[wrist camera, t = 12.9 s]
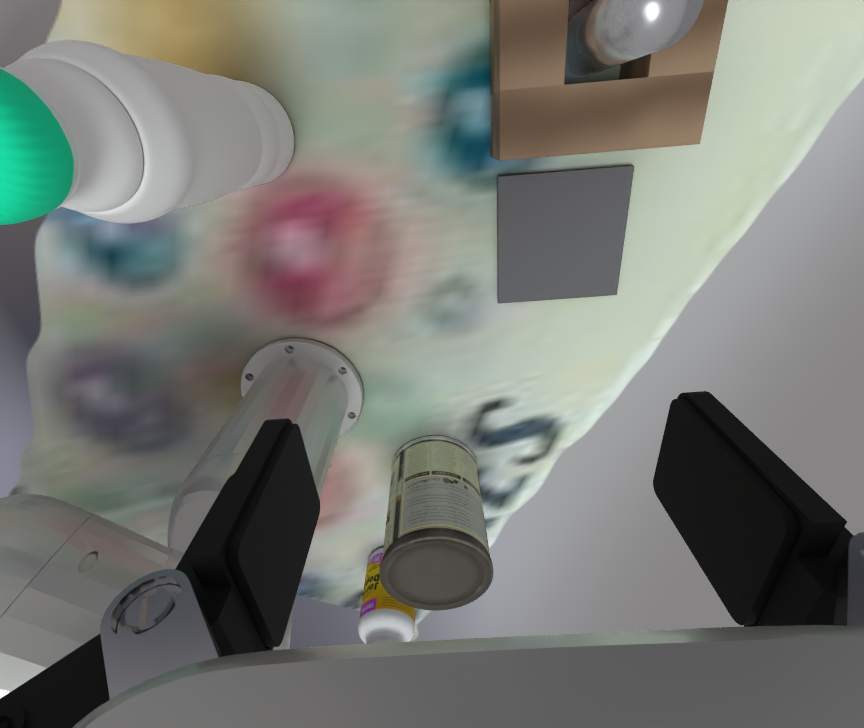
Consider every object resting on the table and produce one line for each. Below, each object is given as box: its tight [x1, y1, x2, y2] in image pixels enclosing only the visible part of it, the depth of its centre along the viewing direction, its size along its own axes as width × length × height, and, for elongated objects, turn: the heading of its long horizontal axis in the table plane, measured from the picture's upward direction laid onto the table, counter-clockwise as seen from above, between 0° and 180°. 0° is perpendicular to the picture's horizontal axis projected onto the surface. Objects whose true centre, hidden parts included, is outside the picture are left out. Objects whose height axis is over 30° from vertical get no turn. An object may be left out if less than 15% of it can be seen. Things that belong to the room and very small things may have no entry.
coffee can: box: [379, 436, 493, 610], centre depth 45 cm, size 10×10×14 cm
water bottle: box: [0, 40, 294, 225], centre depth 23 cm, size 7×7×25 cm
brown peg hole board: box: [490, 0, 728, 161], centre depth 29 cm, size 14×14×5 cm
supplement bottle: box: [358, 547, 415, 644], centre depth 53 cm, size 7×7×13 cm
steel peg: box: [565, 0, 704, 77], centre depth 26 cm, size 4×4×12 cm
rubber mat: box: [497, 165, 634, 303], centre depth 38 cm, size 11×11×1 cm
